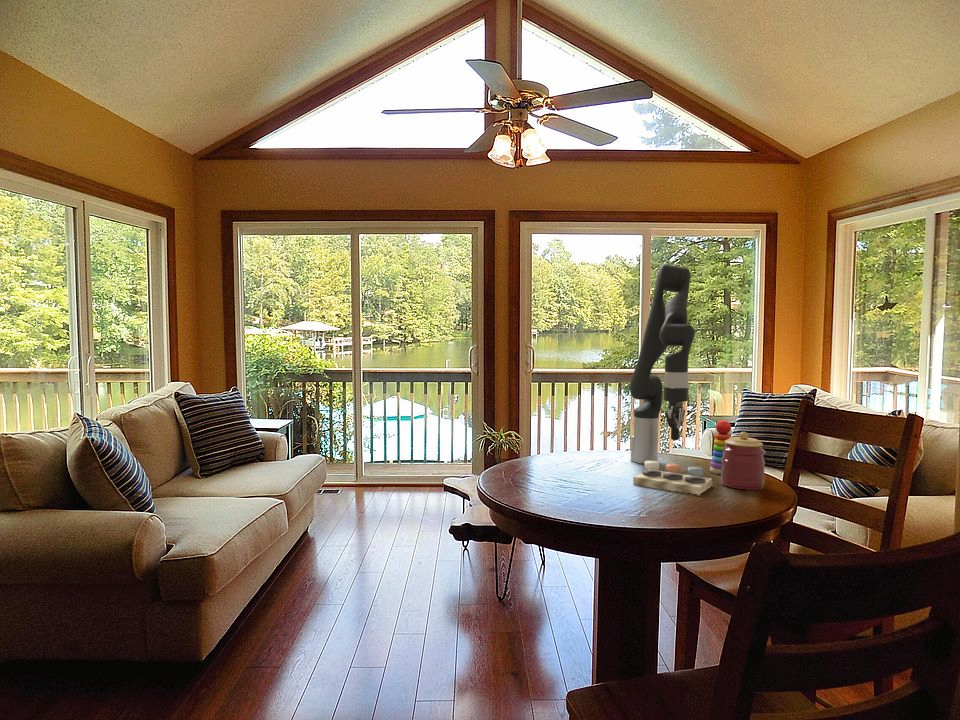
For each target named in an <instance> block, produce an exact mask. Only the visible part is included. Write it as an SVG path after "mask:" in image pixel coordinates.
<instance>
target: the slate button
mask: <svg viewBox="0 0 960 720" xmlns="http://www.w3.org/2000/svg"><path fill="white" fill-rule="evenodd" d="M686 473H687V474H686V475H691V476H698V477H704V468H703V467H699V466H687V472H686Z"/></svg>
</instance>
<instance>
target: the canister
mask: <svg viewBox="0 0 960 720" xmlns="http://www.w3.org/2000/svg"><path fill="white" fill-rule="evenodd" d="M725 443H726V445H725V446H723V447H722V450H723V457H722V458H721V459H722V473H721V474H720V481H721V485H722V484H723V485H722V486H724V485H725V486H724V487H726V486H728V487H727V488H729V487H731V489H734V488H737V489H736V490H740V489H746V490H745V491H758V490H757V489H761V490H762V488H763V489H764V485H765V464H766V461H765V460H764V455H765V454H766V450H765V449H763V445H764V444H763V443H762V442H761V441H760V440H758V439H757V438H754V437H749V434H748V432H746V431H741V432H740V433H739V436H731V437H730V438H729V439H727V440H725Z"/></svg>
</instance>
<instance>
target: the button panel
mask: <svg viewBox="0 0 960 720" xmlns="http://www.w3.org/2000/svg"><path fill="white" fill-rule="evenodd" d="M632 479H633V481H632V483H633V485H634V486H635V485H636V486H641V487H647V488H652V489H656V490H657V489H659V490H663V489H664V491H669V490H670V491H671V492H675V491H679V492H678V493H681V492H685V493H684V494H687V493H692V494H691V495H693V494H698V495H697V496H699V495H700V494H701V493H703V492H704V491H705V492H706V490H707V489H708V488H709V489H710V487H711V486H712V487H713V478H710V477H705V476H691V475H688V474H683V473H670V472H666V470H665V471H664V470H659V469H658V470H650V469H644V470H642V471H641V472H640V473H639V474H636V475H634V476H633V477H632ZM712 487H711V488H712ZM709 489H708V490H709ZM708 490H707V491H708ZM670 491H669V492H670ZM705 492H704V493H705ZM704 493H703V494H704ZM701 495H702V494H701ZM701 495H700V496H701Z"/></svg>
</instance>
